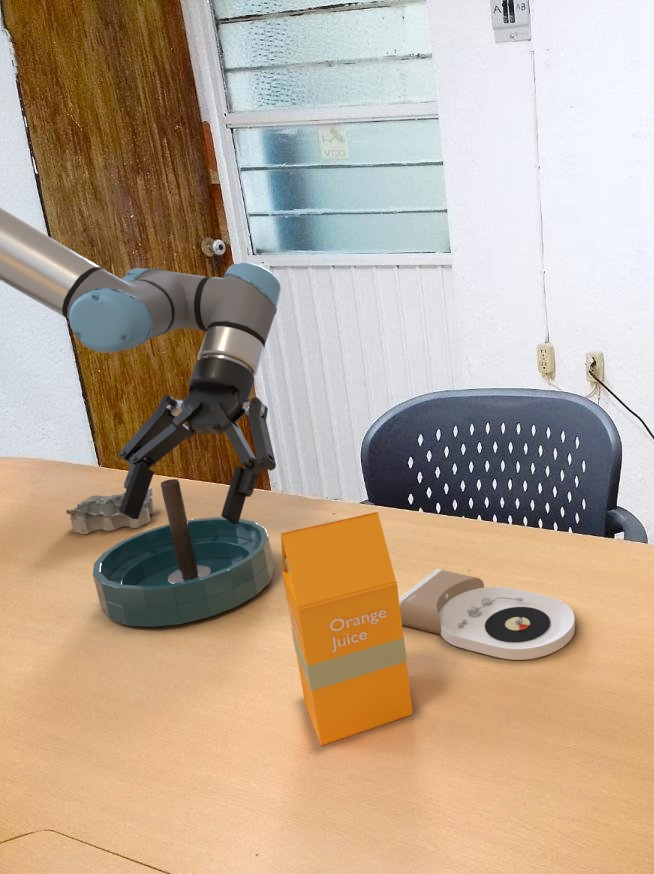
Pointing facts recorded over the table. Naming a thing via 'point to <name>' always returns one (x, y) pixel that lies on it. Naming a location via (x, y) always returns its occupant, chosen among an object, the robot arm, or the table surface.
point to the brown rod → (181, 535)
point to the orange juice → (346, 626)
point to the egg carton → (107, 514)
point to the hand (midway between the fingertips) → (178, 517)
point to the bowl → (156, 559)
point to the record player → (487, 616)
